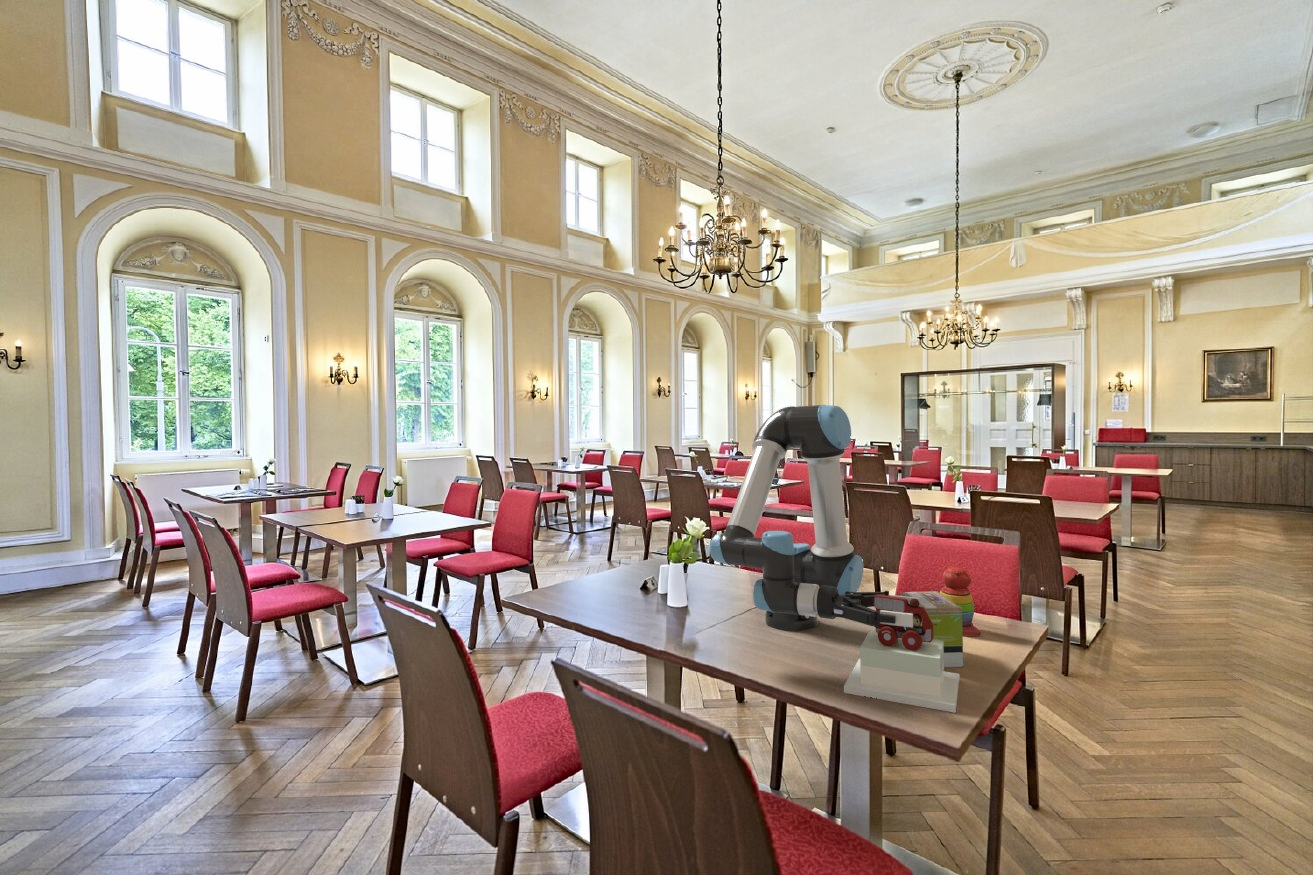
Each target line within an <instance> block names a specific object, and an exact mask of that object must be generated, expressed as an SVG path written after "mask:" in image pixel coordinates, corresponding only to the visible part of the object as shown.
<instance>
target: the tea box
mask: <svg viewBox="0 0 1313 875" xmlns="http://www.w3.org/2000/svg"><path fill="white" fill-rule="evenodd" d="M899 596H906V597H916V598H919V603H920V605H919V606H920V607H923V608H925V610H926V612H927V614H928V616H929V618H930V620H931V622H932V624H933V640H941V641H944V668H963V667H964V638H963V630H962V608H961V607H960V606H958V605H957V604H955V603H953V602H952V601H950V600H949V599H947V598H946V597H944V596H943V595H941V594H940V592H939V591H936V590H934V591H900V592H899ZM910 614H911V613H910ZM922 624H923V620H922V622H921V625H920V626H922ZM904 629H905V630H906V627H904Z"/></svg>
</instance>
